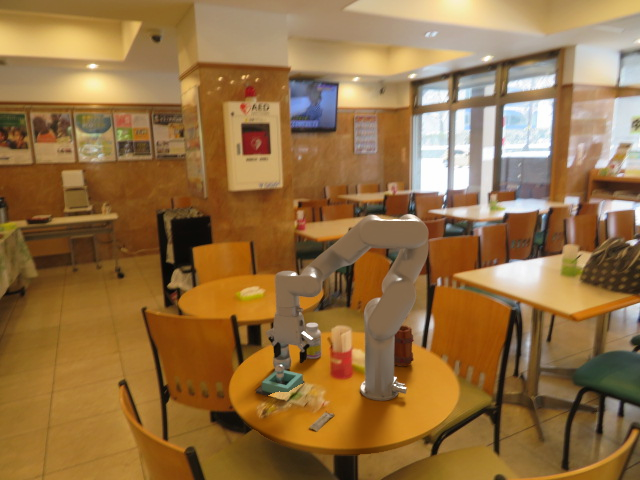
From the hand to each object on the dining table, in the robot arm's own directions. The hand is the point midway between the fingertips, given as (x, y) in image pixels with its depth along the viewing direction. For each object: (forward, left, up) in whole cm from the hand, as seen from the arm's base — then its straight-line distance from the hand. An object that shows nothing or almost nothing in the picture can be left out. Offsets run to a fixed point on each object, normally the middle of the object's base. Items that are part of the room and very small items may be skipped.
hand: (290, 358), depth 144 cm
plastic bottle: (+11, -12, -12) cm, 20 cm away
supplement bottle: (+5, -26, -12) cm, 29 cm away
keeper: (+4, 0, -12) cm, 12 cm away
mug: (-26, -34, -12) cm, 44 cm away
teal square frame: (+3, 0, -11) cm, 11 cm away
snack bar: (-17, +11, -12) cm, 24 cm away
